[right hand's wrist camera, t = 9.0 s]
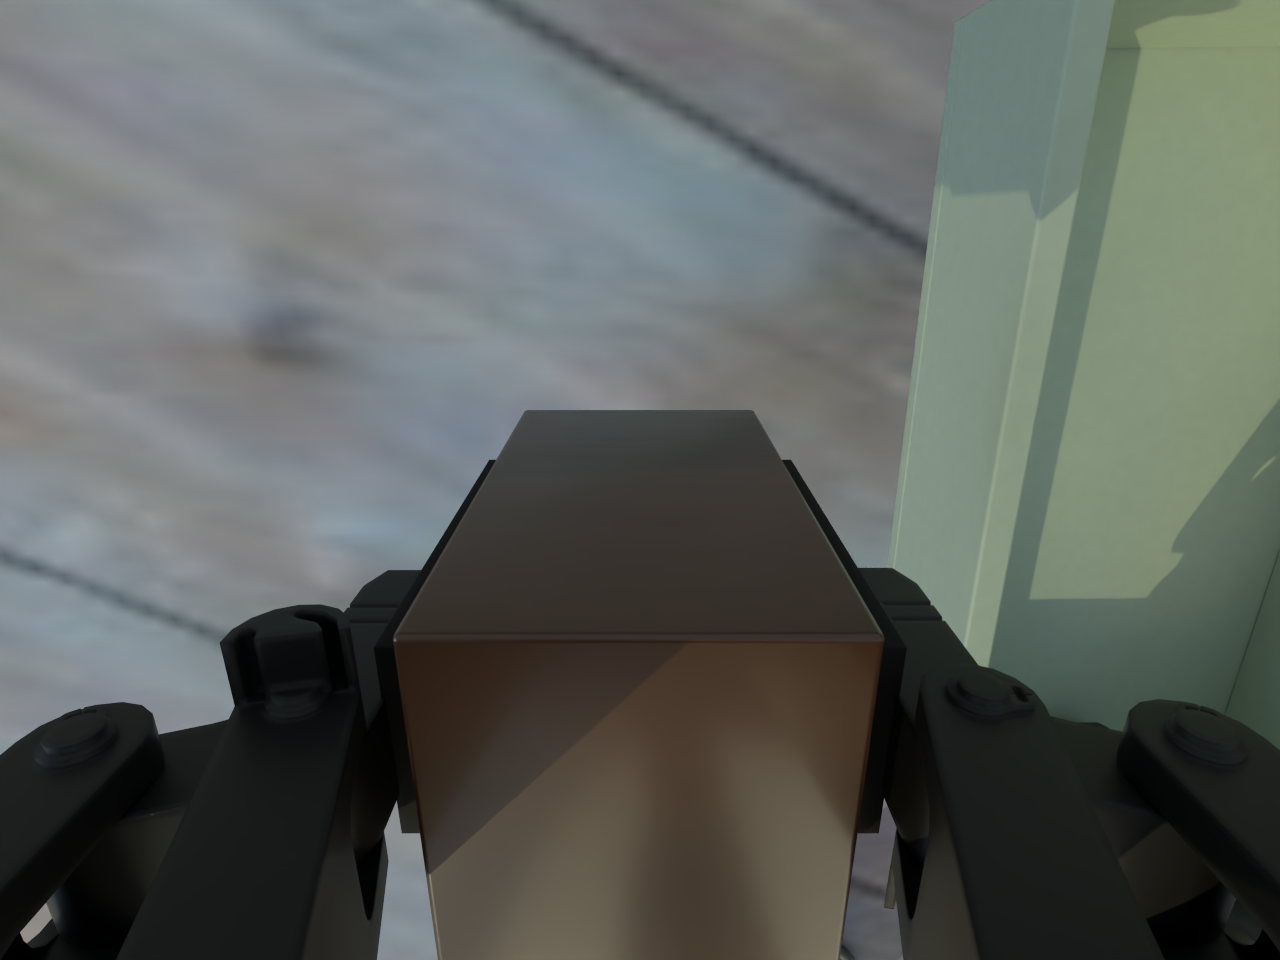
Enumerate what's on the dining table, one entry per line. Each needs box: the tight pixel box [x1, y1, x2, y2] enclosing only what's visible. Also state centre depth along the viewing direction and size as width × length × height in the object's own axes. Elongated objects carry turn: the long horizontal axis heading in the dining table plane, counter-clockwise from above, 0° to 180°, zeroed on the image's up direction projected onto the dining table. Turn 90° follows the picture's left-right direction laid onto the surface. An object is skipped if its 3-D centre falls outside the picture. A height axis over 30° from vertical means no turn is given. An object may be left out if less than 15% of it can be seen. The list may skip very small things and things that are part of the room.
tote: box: [887, 0, 1280, 750], centre depth 20 cm, size 24×14×6 cm, turn 1°
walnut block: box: [393, 410, 884, 960], centre depth 11 cm, size 4×4×8 cm
